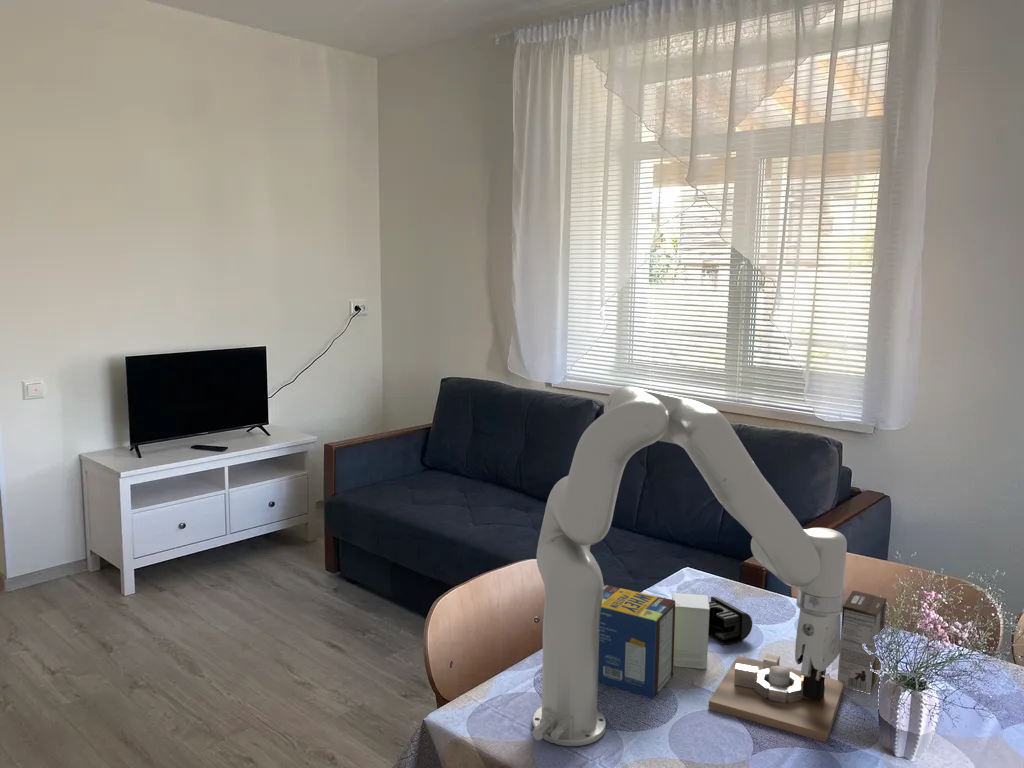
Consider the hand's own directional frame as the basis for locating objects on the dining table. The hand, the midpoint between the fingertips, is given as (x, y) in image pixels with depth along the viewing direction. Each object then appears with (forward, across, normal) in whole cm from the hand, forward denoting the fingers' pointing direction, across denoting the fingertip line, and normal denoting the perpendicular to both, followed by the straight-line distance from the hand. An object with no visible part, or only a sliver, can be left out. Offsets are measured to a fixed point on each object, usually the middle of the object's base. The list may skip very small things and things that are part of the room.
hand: (812, 697), depth 142 cm
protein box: (+3, -11, +32) cm, 34 cm away
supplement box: (+3, +3, +26) cm, 26 cm away
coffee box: (+3, +17, -3) cm, 18 cm away
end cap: (+3, +18, +26) cm, 32 cm away
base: (+3, 0, +6) cm, 7 cm away
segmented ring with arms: (+1, 0, +6) cm, 6 cm away
